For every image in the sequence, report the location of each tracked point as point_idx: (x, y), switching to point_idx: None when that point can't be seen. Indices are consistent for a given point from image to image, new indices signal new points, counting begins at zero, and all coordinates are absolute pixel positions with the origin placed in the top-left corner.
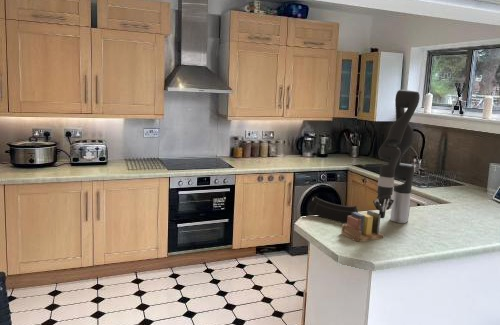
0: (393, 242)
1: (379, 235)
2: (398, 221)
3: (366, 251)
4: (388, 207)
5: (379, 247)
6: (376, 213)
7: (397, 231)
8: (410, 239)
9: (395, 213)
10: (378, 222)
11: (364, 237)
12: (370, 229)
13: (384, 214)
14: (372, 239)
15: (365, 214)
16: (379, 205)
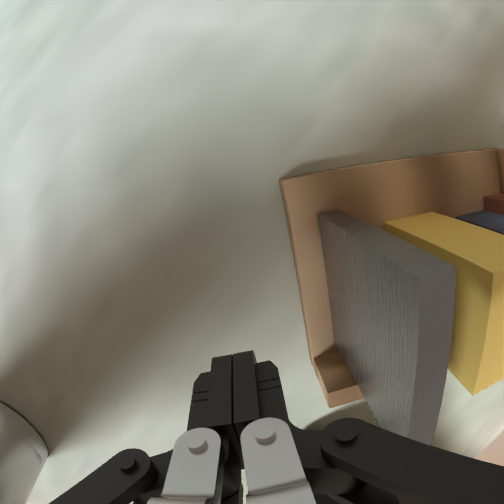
0: (258, 63)
1: (336, 170)
2: (14, 417)
3: (501, 29)
4: (118, 484)
5: (422, 27)
6: (438, 344)
7: (65, 298)
8: (63, 115)
9: (14, 462)
10: (384, 234)
11: (470, 162)
12: (418, 228)
13: (213, 389)
14: (397, 159)
15: (496, 362)
16: (439, 487)
